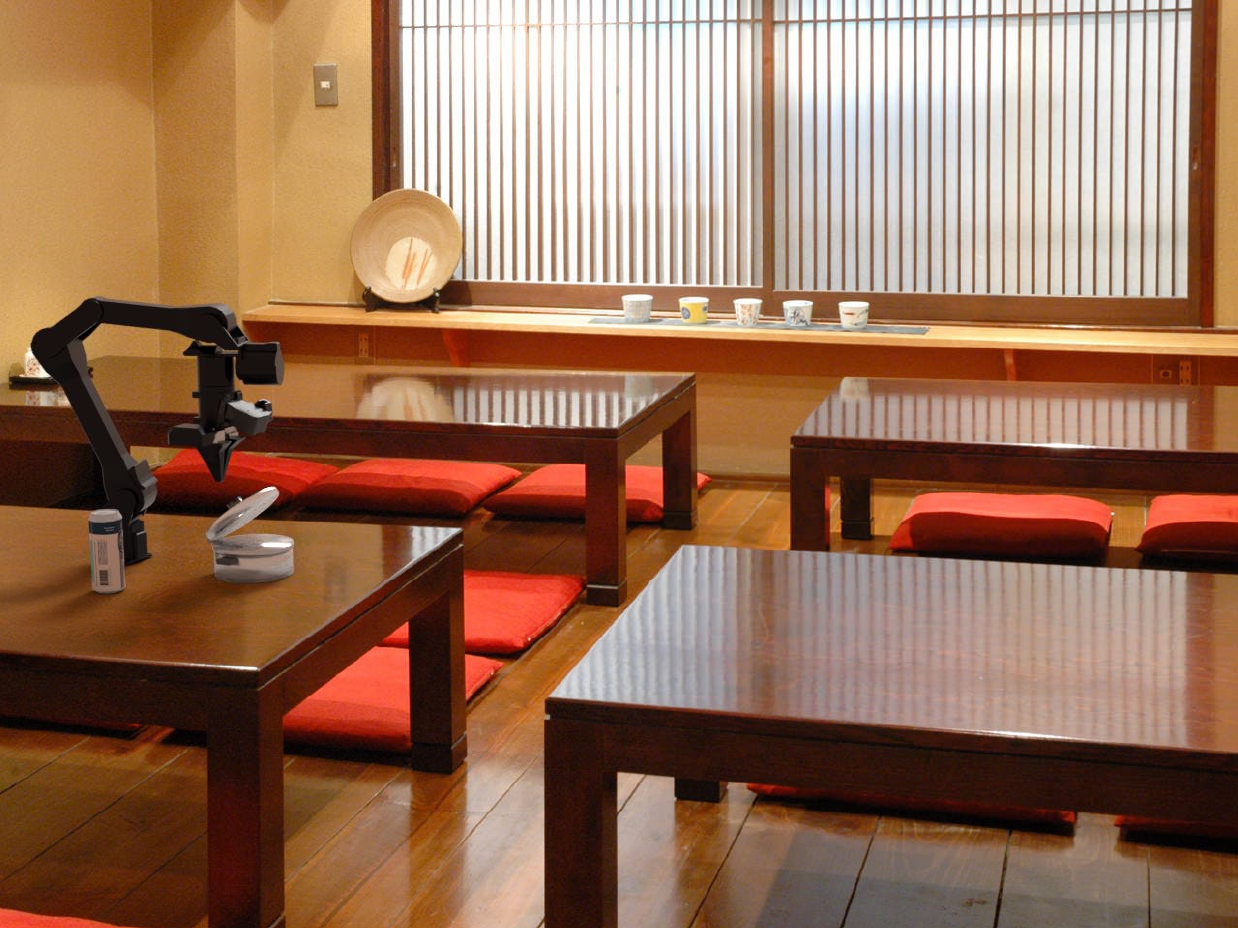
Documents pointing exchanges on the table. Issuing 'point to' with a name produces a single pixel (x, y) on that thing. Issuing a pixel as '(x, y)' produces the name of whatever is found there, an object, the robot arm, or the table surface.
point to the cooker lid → (241, 513)
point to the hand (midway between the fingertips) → (219, 481)
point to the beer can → (106, 551)
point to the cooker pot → (253, 558)
